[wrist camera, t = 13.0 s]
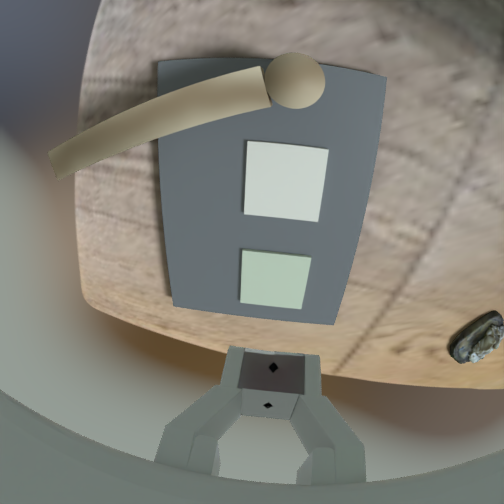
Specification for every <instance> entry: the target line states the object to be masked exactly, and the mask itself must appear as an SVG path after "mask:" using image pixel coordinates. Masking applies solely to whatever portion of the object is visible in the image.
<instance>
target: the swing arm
mask: <svg viewBox="0 0 504 504" xmlns="http://www.w3.org/2000/svg"><path fill="white" fill-rule="evenodd" d="M324 88H325V76H324V73H323V70H322V68H321V67H320V65H319V64H318V63H317V62H316V61H315V60H314V59H312V58H311V57H309V56H307V55H304V54H301V53H286V54H283V55H280V56H278V57H277V58H275V59H274V60H273V61H272V62H271V63H270V64H269V66H268V67H267V69H266V72H265V73H264V70H263V68H261V67H260V66H257V67H253V68H249V69H244V70H240V71H237V72H233V73H229V74H225V75H222V76H218V77H215V78H212V79H208V80H205V81H202V82H199V83H196V84H193V85H190V86H187V87H184V88H181V89H178V90H175V91H173V92H170V93H167V94H165V95H162V96H159V97H157V98H154V99H152V100H149V101H147V102H144V103H142V104H140V105H137V106H135V107H133V108H130V109H128V110H126V111H124V112H122V113H119V114H117V115H115V116H113V117H111V118H109V119H107V120H105V121H103V122H101V123H99V124H97V125H95V126H93V127H91V128H89V129H87V130H85V131H83V132H82V133H80V134H78V135H76V136H74V137H72V138H71V139H69V140H67V141H65V142H64V143H62V144H60V145H59V146H57V147H55V148H54V149H52V150H50V151H49V152H48V156H49V158H50V161H51V164H52V167H53V170H54V172H55V175H56V178H57V180H60V179H62V178H64V177H66V176H68V175H70V174H73V173H75V172H77V171H79V170H81V169H83V168H85V167H87V166H90V165H92V164H94V163H96V162H99V161H101V160H103V159H106V158H108V157H110V156H113V155H115V154H118V153H120V152H123V151H125V150H128V149H130V148H133V147H135V146H138V145H141V144H143V143H146V142H149V141H152V140H154V139H157V138H160V137H163V136H166V135H169V134H172V133H175V132H178V131H181V130H184V129H187V128H191V127H194V126H197V125H201V124H204V123H207V122H211V121H215V120H218V119H222V118H226V117H229V116H233V115H237V114H241V113H246V112H250V111H254V110H259V109H263V108H268V107H271V106H272V105H273V104H272V100H271V98H272V99H273V100H274V101H275V102H277V103H278V104H280V105H282V106H284V107H287V108H292V109H300V108H305V107H308V106H310V105H312V104H314V103H315V102H316V101H317V100H318V99H319V98H320V97H321V95H322V94H323V91H324Z"/></svg>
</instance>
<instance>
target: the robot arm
mask: <svg viewBox="0 0 504 504" xmlns="http://www.w3.org/2000/svg"><path fill="white" fill-rule="evenodd" d="M241 415H246V416H256V417H266V418H275V419H284V420H290V422H291V424H292V426H293V428H294V430H295V431H296V433H297V435H298V437H299V439H300V440H301V442H302V444H303V446H304V447H305V449H306V451H307V453H308V454H309V457H308V458H307V459H306V461H305V462H304V463H303V464H302V466H301V467H300V468H299V469H298V471H297V480H296V484H277V483H264V482H254V481H245V480H237V479H230V478H224V477H218V474H219V469H220V457H219V448H218V440H219V439H220V438H221V437H222V436H223V435H224V434H225V432H226V431H227V430H228V429H229V428H230V427H231V426H232V425H233V424H234V423H235V422H236V421H237V420H238V419H239V418H240V416H241ZM0 504H504V449H502V450H499V451H497V452H494V453H492V454H489V455H486V456H483V457H480V458H477V459H474V460H472V461H468V462H465V463H462V464H458V465H455V466H452V467H448V468H444V469H440V470H436V471H432V472H427V473H423V474H418V475H412V476H407V477H401V478H395V479H388V480H382V481H372V482H366V466H365V450H364V445H363V443H362V442H361V441H360V440H359V438H358V437H357V436H356V435H355V433H354V432H353V431H352V429H351V428H350V427H349V426H348V424H347V423H346V422H345V420H344V419H343V418H342V417H341V415H340V414H339V413H338V411H337V410H336V409H335V407H334V406H333V405H332V404H331V402H330V401H329V400H328V398H327V397H326V396H322V394H321V368H320V357H319V355H309V354H300V353H287V352H276V351H274V352H271V351H264V350H257V349H250V348H243V347H236V346H230V347H229V349H228V352H227V357H226V361H225V365H224V370H223V374H222V378H221V382H220V385H215V386H214V387H213V388H211V389H210V390H209V391H208V392H206V393H205V394H204V395H203V396H202V397H200V398H199V399H198V400H197V401H196V402H194V403H193V404H192V405H191V406H190V407H188V408H187V409H186V410H185V411H184V412H182V413H181V414H180V415H178V416H177V417H176V418H175V419H173V420H172V421H171V422H170V423H169V424H167V425H166V426H165V429H164V432H163V435H162V438H161V441H160V444H159V448H158V451H157V454H156V457H155V460H154V462H153V461H149V460H146V459H143V458H140V457H136V456H133V455H131V454H128V453H125V452H122V451H119V450H117V449H113V448H111V447H109V446H106V445H103V444H101V443H98V442H96V441H94V440H91V439H89V438H87V437H85V436H82V435H80V434H78V433H76V432H74V431H71V430H69V429H67V428H65V427H63V426H61V425H59V424H57V423H55V422H53V421H52V420H49V419H48V418H46V417H44V416H42V415H40V414H39V413H37V412H35V411H33V410H32V409H30V408H28V407H27V406H25V405H23V404H22V403H20V402H18V401H17V400H15V399H14V398H12V397H11V396H9V395H7V394H6V393H5V392H3V391H2V390H0Z"/></svg>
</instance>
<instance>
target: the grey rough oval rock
mask: <svg viewBox="0 0 504 504" xmlns="http://www.w3.org/2000/svg"><path fill="white" fill-rule="evenodd" d="M503 321H504V320H503V318H502V316H501V315H500V314H499V313H498V312H497V311H492V312H490V313H488V314H486V315H485V316H483V317H482V318H480V319H479V320H477V321H476V322H475V323H473V324H472V325H471V326H469V327H468V328H466V329H465V330H464V331H463V332H462V333H460V334H459V335H458V336H457V338H456V339H455V340H454V342H453V343H452V344H451V345H450V355H451V357H453V358H454V359H455V360H456V361H457V362H458V363H460V364H462V363H466V362H469V361H471V362H472V363H475V362H478V361H479V360H480V359H483V358H484V356H485V355H486V354H488V353H490V352H491V351H492V350H494V349H497V348H498V347H499V344H500V342H501V340H502V339H503V336H504V325H503V324H504V323H503Z"/></svg>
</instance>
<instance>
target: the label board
mask: <svg viewBox="0 0 504 504" xmlns="http://www.w3.org/2000/svg"><path fill="white" fill-rule="evenodd" d="M273 60H274V59H260V58H198V59H182V60H170V61H160V62H158V90H157V97H159V96H162V95H165V94H167V93H170V92H173V91H175V90H178V89H181V88H184V87H187V86H190V85H193V84H196V83H199V82H202V81H205V80H208V79H212V78H215V77H218V76H222V75H225V74H229V73H233V72H237V71H240V70H244V69H249V68H253V67H257V66H260V67H261V68H263V70H264V73H265V72H266V69H267V67H268V66H269V64H270V63H271V62H272V61H273ZM319 65H320V67H321V68H322V70H323V73H324V76H325V88H324V91H323V94H322V95H321V97H320V98H319V99H318V100H317V101H316V102H315V103H314V104H312V105H310V106H308V107H305V108H300V109H292V108H287V107H284V106H282V105H280V104H278V103H277V102H275V101H274V100H273V99H272V98H271V100H272V104H273V105H272V106H271V107H268V108H263V109H259V110H254V111H250V112H246V113H241V114H237V115H233V116H229V117H226V118H222V119H218V120H215V121H211V122H207V123H204V124H201V125H197V126H194V127H191V128H187V129H184V130H181V131H178V132H175V133H172V134H169V135H166V136H163V137H160V138H158V153H159V174H160V190H161V203H162V215H163V226H164V236H165V246H166V254H167V263H168V271H169V278H170V286H171V293H172V300H173V306H175V307H181V308H188V309H194V310H201V311H208V312H215V313H222V314H230V315H237V316H245V317H254V318H263V319H272V320H281V321H291V322H302V323H314V324H326V325H334V323H335V320H336V317H337V314H338V310H339V307H340V304H341V301H342V298H343V294H344V291H345V288H346V284H347V281H348V277H349V274H350V270H351V267H352V263H353V259H354V255H355V252H356V248H357V244H358V240H359V236H360V232H361V228H362V224H363V219H364V215H365V211H366V206H367V201H368V197H369V192H370V187H371V182H372V177H373V172H374V166H375V161H376V155H377V149H378V143H379V137H380V130H381V123H382V116H383V108H384V100H385V91H386V81H387V77H384V76H380V75H375V74H371V73H366V72H362V71H357V70H352V69H347V68H341V67H335V66H329V65H322V64H319Z"/></svg>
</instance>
